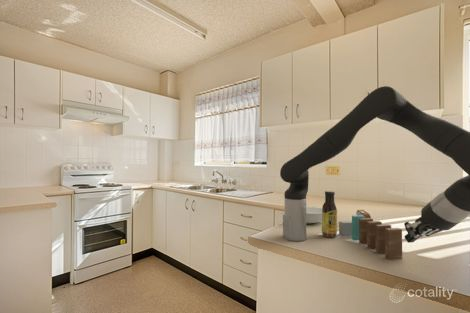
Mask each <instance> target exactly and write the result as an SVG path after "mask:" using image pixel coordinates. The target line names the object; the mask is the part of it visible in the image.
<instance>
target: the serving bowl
mask: <svg viewBox="0 0 470 313" xmlns="http://www.w3.org/2000/svg"><path fill="white" fill-rule="evenodd" d="M319 222H320V223H321V222H322V208H321V207H318V206H317V207H316V206H309V205H306V225H307V224H315V223H319Z"/></svg>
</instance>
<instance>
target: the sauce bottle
mask: <svg viewBox="0 0 470 313" xmlns="http://www.w3.org/2000/svg"><path fill="white" fill-rule="evenodd" d="M324 196H325V197H324V203H323V204H322V221H321V234H322V236H323V237H326V238H336V237H337V235H338V234H337V233H338V208H337V206H336V203H335V202H336V201H335V191H333V190H325V191H324Z"/></svg>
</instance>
